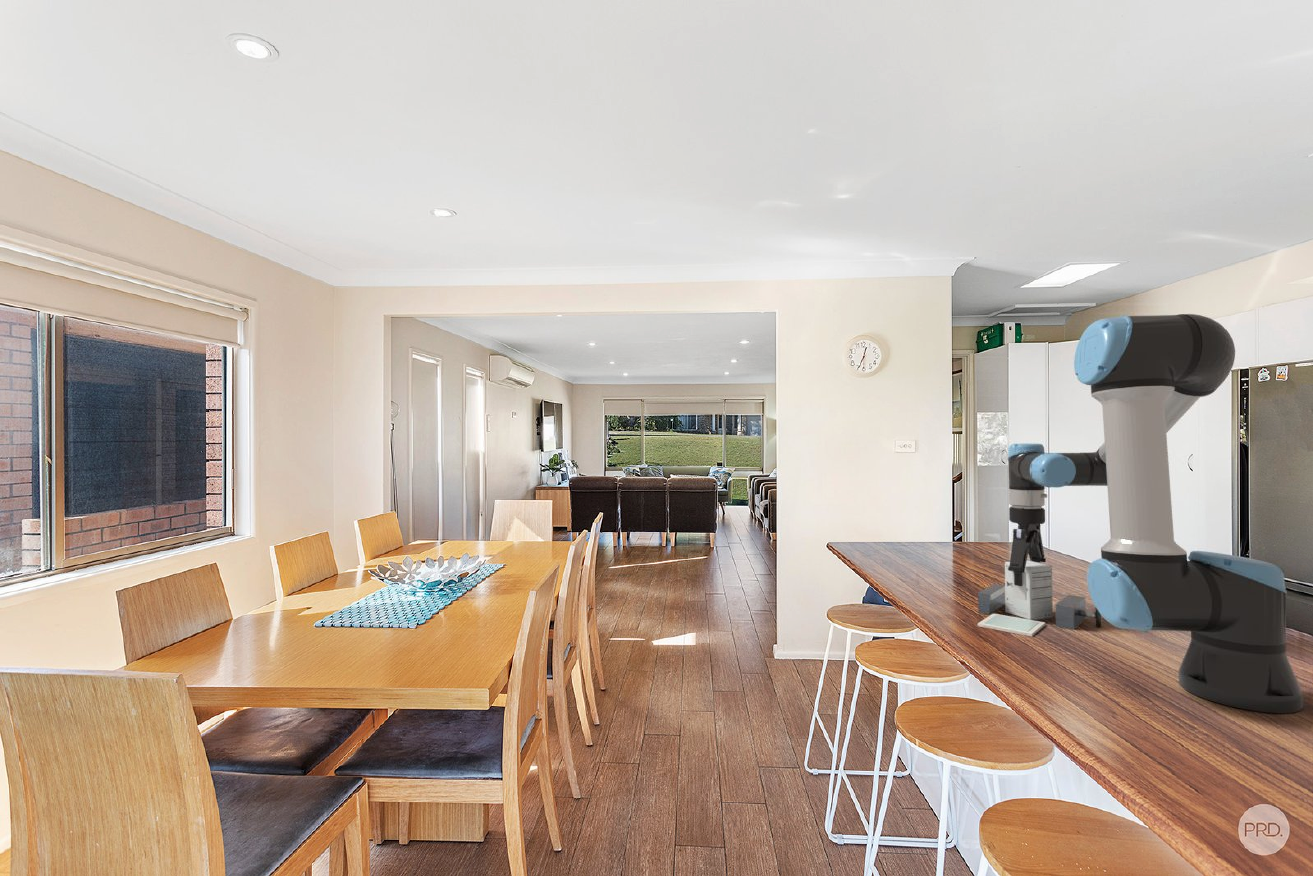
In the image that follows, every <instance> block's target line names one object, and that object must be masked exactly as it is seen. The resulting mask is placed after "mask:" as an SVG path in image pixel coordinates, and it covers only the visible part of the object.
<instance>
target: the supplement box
mask: <svg viewBox="0 0 1313 876" xmlns="http://www.w3.org/2000/svg"><path fill="white" fill-rule="evenodd" d="M1040 563H1041V562H1040ZM1040 563H1036V562H1031V560H1027V562H1026V566H1025V571H1024V572H1026V593H1027V600H1021V599H1015V598H1013V573H1012V571H1009V570H1008V567H1009V566H1010V561H1005V562H1004V586H1005V605H1004V606H1005V608H1004V609H1005V610H1004V611H1005V613H1006V614H1007V613H1008V614H1011V615H1015V616H1017V617H1019V618H1020V617H1021V618H1022V619H1028V620H1033V621H1038V620H1043V619H1051V618H1053V565H1048V564H1045V563H1042V564H1040Z"/></svg>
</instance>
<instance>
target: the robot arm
mask: <svg viewBox="0 0 1313 876" xmlns="http://www.w3.org/2000/svg"><path fill="white" fill-rule="evenodd" d="M1073 358H1074V359H1073V368H1074V369H1073V370H1074V373H1075V375H1076V378H1077V380H1078V381H1079V382H1080V383H1082V384H1083V385H1086V386H1090V395H1091V397H1092V399H1093V398H1094V399H1095V400H1096V401H1097V402H1098V403H1100V405H1102V421H1103V423H1102V424H1103V436H1104V442H1103V443H1102V444H1101V446H1100V447H1099V448H1098V449H1097V450H1096V451H1093V452H1045V446H1044V445H1043V444H1042V443H1013V444H1012V443H1011V444H1010V445H1009V447H1008V456H1007V462H1008V463H1007V464H1008V465H1007V466H1008V505H1010V507H1009V508H1008V513H1009V514H1008V516H1009V517H1008V519H1009V521H1010V522H1011V523H1014V524H1018V526H1017V528H1013V530H1012V544H1011V552H1010V557H1009V558H1010V560H1009V562H1010V566H1009V567H1008V570H1009V571H1012V573H1013V598H1015V599H1021V600H1027V593H1026V572H1024V571H1025V566H1026V562H1027V561H1028V556H1029V561H1031V562H1036V563H1040V564H1043V563H1046V560H1047V558H1046V557H1045V553H1044V551H1045V550H1044V546H1043V545H1044V544H1043V539H1042V534H1041V525H1043V524H1045V522H1046V509H1045V508H1044V507H1043V506H1046V504H1045V499H1046V498H1048V494H1047V493H1045V489H1046V488H1063V487H1084V486H1085V487H1086V486H1087V487H1088V486H1089V487H1094V486H1095V487H1100V486H1101V487H1102V486H1104V487H1107V497H1108V500H1107V501H1108V516H1109V528H1110V530H1109V531H1110V532H1109V533H1110V539H1109V540H1108V541H1107V542H1105V543H1104V545H1102V546H1101V547H1100V553H1101V555H1100V556H1101V558H1098V559H1096V560H1094V561H1092V562H1090V564H1089V565H1088V570H1087V572H1086V581H1087V582H1086V583H1087V588H1088V593H1089V595H1090V596H1089V597H1090V598H1091V601H1092V603H1093V604H1094V608H1095V607H1096V608H1097V609H1098V611H1099V613H1100V614H1101V618H1102V617H1103V619H1104V620H1105V621H1106V622H1108V623H1109V624H1110V625H1112V626H1113V627H1116V628H1119V629H1124V630H1134V631H1135V630H1136V631H1141V632H1150V631H1165V632H1169V631H1170V632H1171V631H1172V632H1190V643H1189V645H1188V647H1187V649H1186V652H1185V653H1184V656H1183V659H1182V660H1181V664H1180V666H1179V669H1178V684H1179V686H1180V687H1181V688H1182V689H1184V690H1185V691H1187V692H1188V693H1191V694H1192V695H1195V696H1197V697H1200V698H1202V699H1205V700H1206V701H1207V700H1208V701H1211V702H1214V703H1217V704H1220V705H1225V706H1228V707H1231V708H1232V707H1233V708H1238V709H1242V710H1247V711H1254V712H1262V713H1269V714H1270V713H1273V714H1290V713H1296V712H1297V713H1298V712H1299V711H1301V710H1303V709H1304V694H1303V691H1302V688H1301V686H1300V684H1299V681H1298V679H1297V677H1296V675H1295V672H1294V670H1293V668H1292V666H1291V663H1290V661H1289V659H1288V655H1287V625H1286V624H1287V619H1286V614H1287V613H1286V595H1287V594H1288V591H1287V589H1286V583H1285V573H1284V572H1283V570H1282V569H1281V568H1280V567H1279V566H1277V565H1276V564H1273V563H1272V562H1267V561H1265V560H1260V559H1259V560H1258V559H1254V558H1249V557H1244V556H1238V555H1234V554H1233V555H1232V554H1226V553H1221V552H1220V553H1219V552H1212V551H1204V550H1203V551H1202V550H1191V551H1189V556H1188V553H1187V551H1186V550H1185V549H1184V548H1182V547H1181V546H1180V545H1179V544H1177V542H1176V541H1175V535H1174V533H1175V532H1174V522H1173V509H1172V507H1173V506H1172V505H1173V504H1172V493H1171V482H1170V481H1171V480H1170V478H1171V477H1170V466H1169V464H1170V463H1169V453H1168V450H1169V449H1168V438H1167V437H1168V436H1167V433H1168V432H1169V431H1170V430H1171V429H1172V428H1173V427H1174V426H1175V425H1176V424H1177V423H1178V422H1179V421H1180V419H1182V417H1183V416H1184V415H1185V414H1186V413H1187V412H1188V411H1189V410H1190V409H1191V408H1192V407H1193V406H1194V405H1195V403H1196V402H1197V401H1198V400H1199V399H1200V398H1204V397H1207V396H1210V395H1212V394H1213V393H1215V392H1216V391H1217V389H1218V388H1219V387H1221V385H1222V384H1223V383H1224V382H1225V380H1226V379H1227V378H1228V376H1229V375H1230V373H1231V371H1232V368H1233V366H1234V364H1235V359H1236V347H1235V343H1234V340H1233V338H1232V336H1231V333H1229V331H1228V330H1227V328H1225V327H1224V326H1223V325H1222V324H1221V323H1219V322H1218V321H1216V320H1214V319H1212V318H1211V317H1208V316H1205V315H1201V314H1195V313H1183V314H1181V313H1180V314H1167V315H1165V314H1163V315H1157V314H1156V315H1121V316H1117V317H1107V318H1101V319H1098V320H1096V321H1093V322H1092V323H1091V324H1090V325H1088V327H1086V329H1085V330H1084V331H1083V333H1082V335H1081V337H1080V338H1079V341H1078V343H1077V346H1076V348H1075V353H1074V357H1073Z"/></svg>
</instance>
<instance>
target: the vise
mask: <svg viewBox="0 0 1313 876" xmlns="http://www.w3.org/2000/svg"><path fill="white" fill-rule="evenodd" d="M977 597H978V598H977V604H978V606H977V607H978V613H979V614H982V615H988V616H990V615H992V614H994V613H995V612H996V611H997V610H999V609H1001V608H1002V607H1004V606H1005V584H1004V585H1003V584H997V583H996V584H995V583H993V584H991V585H990V586H988V587H986V588H984V589H982V590H980V591H978V592H977ZM1086 600H1087V598H1086V596H1081V595H1073V594H1072V595H1071V594H1067V595H1065V596H1064V597H1062V598H1061V599H1060V600H1058V601H1057V602H1055V603H1054V611H1055V627H1058V628H1062V629H1063V628H1064V629H1069V630H1073V631H1074V630H1075V629H1076V628H1077V627H1079V626H1080V624H1081V623H1083V622H1084V620H1085V619H1087V618H1091V619H1095V627H1096V628H1102V615H1101V614H1100V613H1099V611H1098V609H1097V608H1096V607H1095V606H1094V608H1095V611H1089V610H1087V609H1086V605H1087V604H1086V602H1087V601H1086Z"/></svg>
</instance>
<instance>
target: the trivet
mask: <svg viewBox="0 0 1313 876" xmlns="http://www.w3.org/2000/svg"><path fill="white" fill-rule="evenodd" d="M1045 626H1046V622H1044V621H1038V620H1028V619H1026V618H1023V617H1021V618H1020V617H1015V616H1010V615H1009V616H1008V615H1003V614H999V613H991V614H990V615H988V616H987V617H985V618H984V619H982V620H981V621H979V622H978V623H977V627H980V628H981V627H982V628H985V629H991V630H997V631H1001V632H1007V633H1012V634H1016V635H1022V636H1027V637H1033V636H1035V635H1036V633H1038V632H1039V631H1040V630H1042V629H1043V628H1044V627H1045Z"/></svg>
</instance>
